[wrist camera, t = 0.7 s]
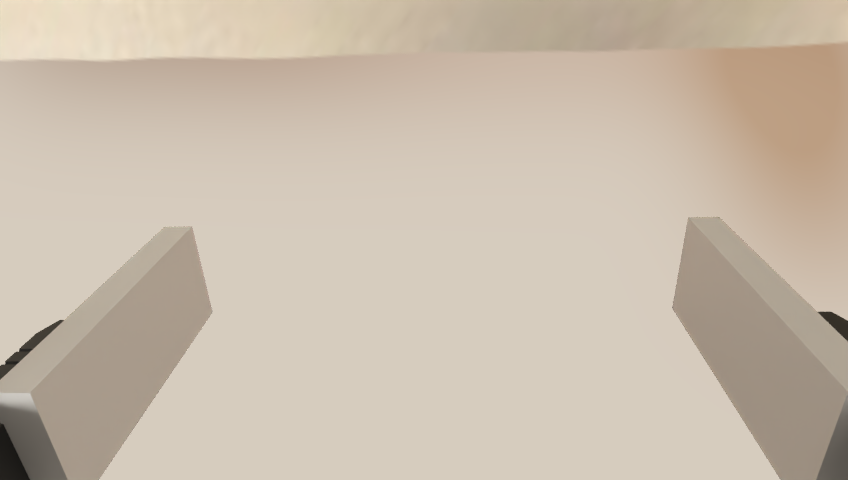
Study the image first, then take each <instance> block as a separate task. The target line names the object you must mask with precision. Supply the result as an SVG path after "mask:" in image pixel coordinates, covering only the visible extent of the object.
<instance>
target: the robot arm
mask: <svg viewBox="0 0 848 480" xmlns="http://www.w3.org/2000/svg"><path fill="white" fill-rule="evenodd" d="M672 308H673V310H674V312H675V313H676V315H677V316H678V318H679V319H680V321H681V323H682V324H683V326H684V327H685V329H686V331H687V332H688V334H689V335H690V337H691V338H692V340H693V342H694V343H695V345H696V346H697V348H698V349H699V351H700V353H701V354H702V356H703V357H704V359H705V361H706V362H707V364H708V365H709V367H710V368H711V370H712V372H713V373H714V375H715V376H716V378H717V380H718V381H719V383H720V384H721V386H722V388H723V389H724V390H725V392H726V394H727V395H728V397H729V399H730V400H731V402H732V403H733V405H734V407H735V408H736V410H737V411H738V413H739V414H740V416H741V418H742V419H743V421H744V422H745V424H746V426H747V427H748V429H749V430H750V432H751V433H752V435H753V436H754V438H755V440H756V441H757V443H758V444H759V446H760V448H761V449H762V451H763V452H764V454H765V455H766V457H767V459H768V460H769V462H770V463H771V465H772V467H773V468H774V470H775V471H776V473H777V475H778V476H779V478H780V479H781V480H848V321H847V320H845V319H844V318H842V317H840V316H838V315H836V314H834V313H832V312H817V311H816V310H815V309H814V308H813V307H812V306H810V305H809V304H808V303H807V302H806V301H805V300H804V299H803V298H802V297H801V296H800V295H799V294H798V293H797V292H796V291H795V290H794V289H793V288H792V287H791V286H790V285H789V284H788V283H787V282H786V281H785V280H784V279H783V278H781V277H780V276H779V275H778V274H777V273H776V272H775V271H774V270H773V269H772V268H771V267H770V266H769V265H768V264H767V263H766V262H765V261H764V260H763V259H762V258H761V257H760V256H759V255H758V254H757V253H756V252H754V250H752V249H751V248H750V247H749V246H748V245H747V244H746V243H745V242H744V241H743V240H742V239H741V238H740V237H739V236H738V235H737V234H736V233H735V232H734V231H733V230H732V229H731V228H730V227H729V226H728V225H727V224H726V223H725V222H724V221H722V220H721V219H720V218H719V217H696V218H688V222H687V229H686V234H685V239H684V245H683V251H682V256H681V263H680V268H679V273H678V279H677V285H676V290H675V296H674V301H673V307H672ZM211 314H212V309H211V304H210V301H209V296H208V292H207V287H206V283H205V279H204V276H203V271H202V267H201V262H200V258H199V254H198V250H197V246H196V241H195V237H194V233H193V229H192V227H164V228H163V229H162V230H161V231H160V232H159V233H158V234H157V235H155V236H154V237H153V238H152V239H151V240H150V241H149V242H148V243H147V244H146V245H145V246H144V247H143V248H142V249H140V250H139V251H138V252H137V253H136V254H135V255H134V256H133V257H132V258H131V259H130V260H129V261H127V263H125V264H124V265H123V266H122V267H121V268H120V269H119V270H118V271H117V272H116V273H115V274H113V276H111V277H110V278H109V279H108V280H107V281H106V282H105V283H104V284H103V285H102V286H101V287H99V288H98V289H97V290H96V291H95V292H94V293H93V294H92V295H91V296H90V297H89V298H88V299H87V300H86V301H84V302H83V303H82V304H81V305H80V306H79V307H78V308H77V309H76V310H75V311H74V312H73V313H72V314H70V316H68V317H67V318H66V319H65V320H59V321H58V322H56V323H54V324H52V325H50V326H49V327H47V328H45V329H44V330H42V331H40V332H38V333H36V334H35V335H34V336H33V337H32V338H31V339H30V340H29V341H28V342H26V343H25V344H24V345H23V346H22V347H21V348H20V350H19V352H16V353H14V354H13V355H12V356H11V357H10V358H9V359H7V360H6V361H5V362H6V364H5V365H1V366H0V480H99V479H100V477H101V476H102V474H103V473H104V471H105V470H106V468H107V467H108V465H109V464H110V462H111V461H112V459H113V458H114V457H115V455H116V454H117V452H118V451H119V449H120V448H121V446H122V444H123V443H124V442H125V440H126V439H127V437H128V436H129V434H130V433H131V431H132V430H133V429H134V427H135V426H136V424H137V423H138V421H139V420H140V418H141V417H142V415H143V414H144V412H145V411H146V409H147V408H148V406H149V405H150V403H151V402H152V400H153V399H154V398H155V396H156V394H157V393H158V392H159V390H160V389H161V387H162V386H163V384H164V383H165V381H166V380H167V379H168V377H169V376H170V374H171V373H172V371H173V370H174V368H175V367H176V365H177V364H178V362H179V361H180V359H181V358H182V356H183V355H184V354H185V352H186V351H187V349H188V348H189V346H190V345H191V343H192V342H193V340H194V339H195V337H196V336H197V334H198V333H199V331H200V330H201V328H202V327H203V326H204V324H205V323H206V321H207V320H208V318H209V317H210V315H211Z"/></svg>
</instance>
